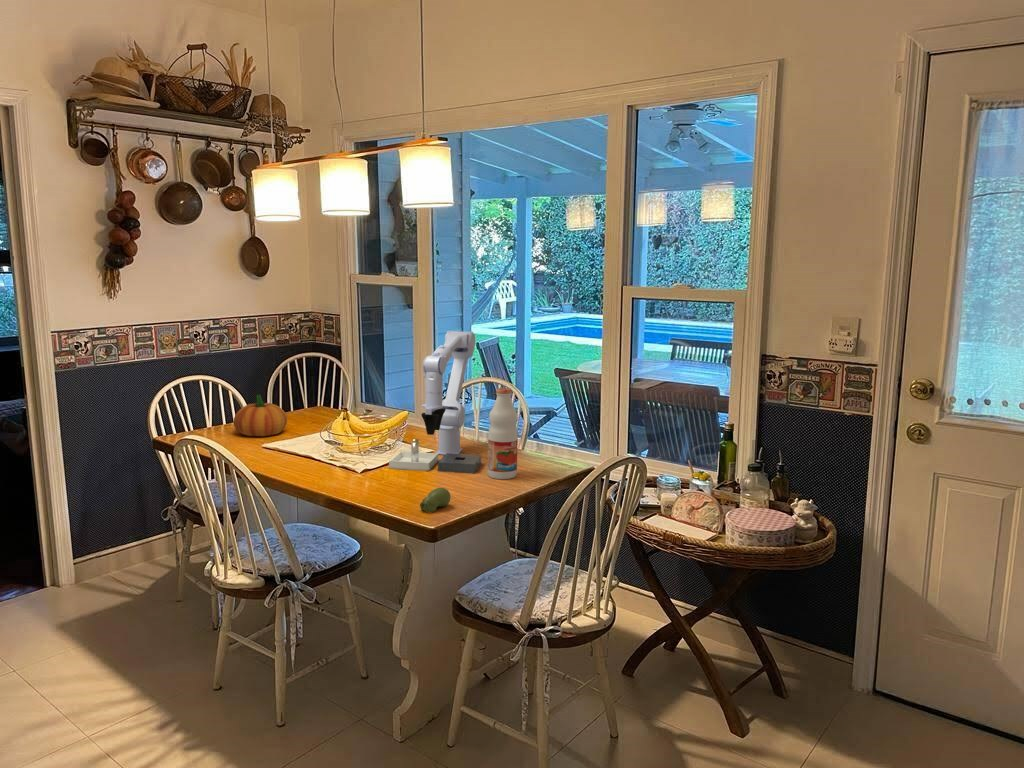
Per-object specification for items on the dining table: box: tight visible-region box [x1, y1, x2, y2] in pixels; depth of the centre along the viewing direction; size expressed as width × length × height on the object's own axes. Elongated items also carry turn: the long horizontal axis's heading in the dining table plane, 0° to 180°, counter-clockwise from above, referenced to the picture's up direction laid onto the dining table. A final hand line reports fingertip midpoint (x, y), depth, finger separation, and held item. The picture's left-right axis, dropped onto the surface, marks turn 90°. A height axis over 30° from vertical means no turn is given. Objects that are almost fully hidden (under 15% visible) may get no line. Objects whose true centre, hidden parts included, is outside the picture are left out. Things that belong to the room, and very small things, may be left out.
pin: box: [410, 438, 420, 462], centre depth 258 cm, size 2×2×8 cm
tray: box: [388, 450, 439, 472], centre depth 258 cm, size 13×13×3 cm
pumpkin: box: [233, 394, 288, 438], centre depth 297 cm, size 19×19×15 cm
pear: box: [419, 487, 451, 513], centre depth 214 cm, size 6×5×10 cm
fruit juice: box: [486, 387, 519, 480], centre depth 246 cm, size 9×9×28 cm
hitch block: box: [437, 453, 482, 474], centre depth 256 cm, size 12×12×3 cm
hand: (433, 432), depth 260 cm, fingers open, 7 cm apart
